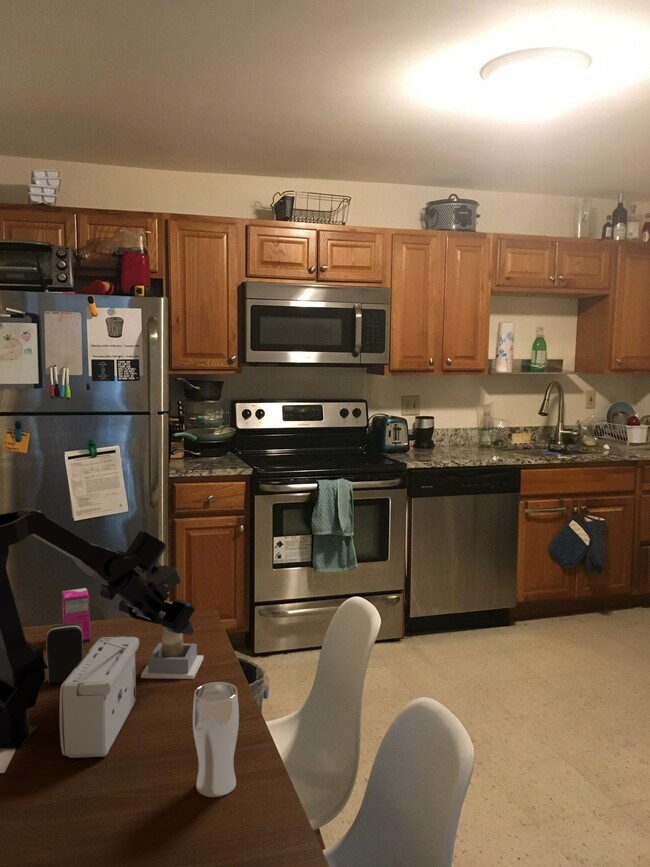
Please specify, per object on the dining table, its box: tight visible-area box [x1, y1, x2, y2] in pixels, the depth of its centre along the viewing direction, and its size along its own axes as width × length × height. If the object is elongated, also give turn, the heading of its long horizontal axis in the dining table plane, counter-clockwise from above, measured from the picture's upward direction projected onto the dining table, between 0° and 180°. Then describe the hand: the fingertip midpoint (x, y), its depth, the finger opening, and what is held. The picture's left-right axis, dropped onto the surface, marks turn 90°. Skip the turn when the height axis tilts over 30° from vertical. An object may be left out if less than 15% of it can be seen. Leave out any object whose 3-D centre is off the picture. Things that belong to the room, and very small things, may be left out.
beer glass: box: [192, 681, 240, 798], centre depth 102 cm, size 7×7×15 cm
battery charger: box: [45, 623, 84, 685], centre depth 138 cm, size 7×4×11 cm, turn 112°
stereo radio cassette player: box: [59, 636, 140, 759], centre depth 118 cm, size 21×8×20 cm, turn 1°
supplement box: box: [61, 587, 92, 643], centre depth 159 cm, size 6×6×12 cm
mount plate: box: [140, 642, 204, 680], centre depth 144 cm, size 10×11×4 cm
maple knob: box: [159, 601, 184, 657], centre depth 143 cm, size 6×6×13 cm
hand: (177, 627), depth 144 cm, fingers open, 9 cm apart
